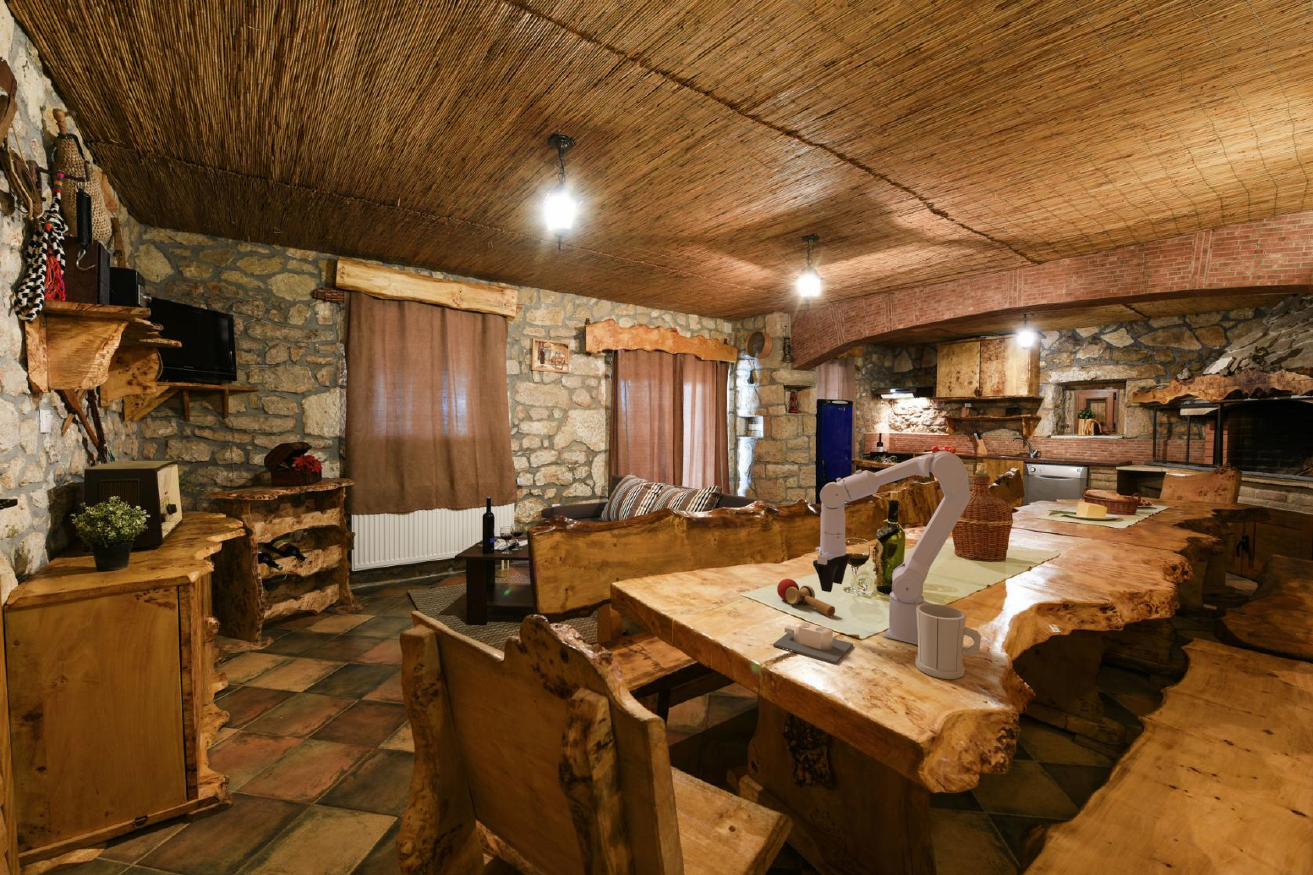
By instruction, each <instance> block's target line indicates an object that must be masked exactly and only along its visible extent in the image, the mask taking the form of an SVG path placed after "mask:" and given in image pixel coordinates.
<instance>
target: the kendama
mask: <svg viewBox="0 0 1313 875" xmlns="http://www.w3.org/2000/svg"><path fill="white" fill-rule="evenodd" d="M776 592H777V594H778V596H779V597H780V599H782V601H783V600H784V601H786V602H787V603H789V604H790V605H796V604H798V603H799V601H801V602H802V603H803V604H806V605H807V604H808V605H810V606H811V607H813V608H814V609H816V610H817V611H819V612H820V613H822V614H824V615H825V616H826V617H827V618H831V616H832V617H833V616H834V615H835V613H836V608H835V606H834V605H831V604H828V603H826V602H824V601H822V600H820V599H817V598H816V593H815V589H814V588H813V587H812V586H810V585H802V586H801V587H800V586H799V585H798V583H797V582H796V581H795V580H794V579H792V578H783V579H782V580H780V581H779V583H778V584H777V586H776Z"/></svg>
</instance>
